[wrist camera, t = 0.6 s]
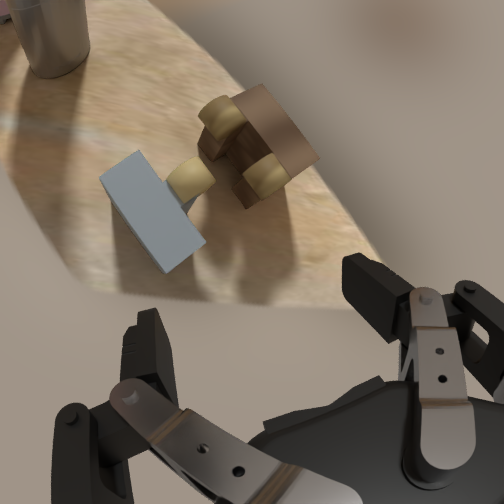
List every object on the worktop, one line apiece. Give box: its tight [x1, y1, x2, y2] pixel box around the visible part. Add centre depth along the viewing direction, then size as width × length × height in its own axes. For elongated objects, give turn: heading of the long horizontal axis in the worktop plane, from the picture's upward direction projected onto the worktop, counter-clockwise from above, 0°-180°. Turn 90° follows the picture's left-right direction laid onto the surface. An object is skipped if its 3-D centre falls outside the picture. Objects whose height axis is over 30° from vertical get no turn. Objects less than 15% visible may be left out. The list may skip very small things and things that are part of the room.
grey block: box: [99, 150, 216, 274], centre depth 28 cm, size 10×8×11 cm
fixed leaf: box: [197, 84, 320, 209], centre depth 31 cm, size 10×8×11 cm
